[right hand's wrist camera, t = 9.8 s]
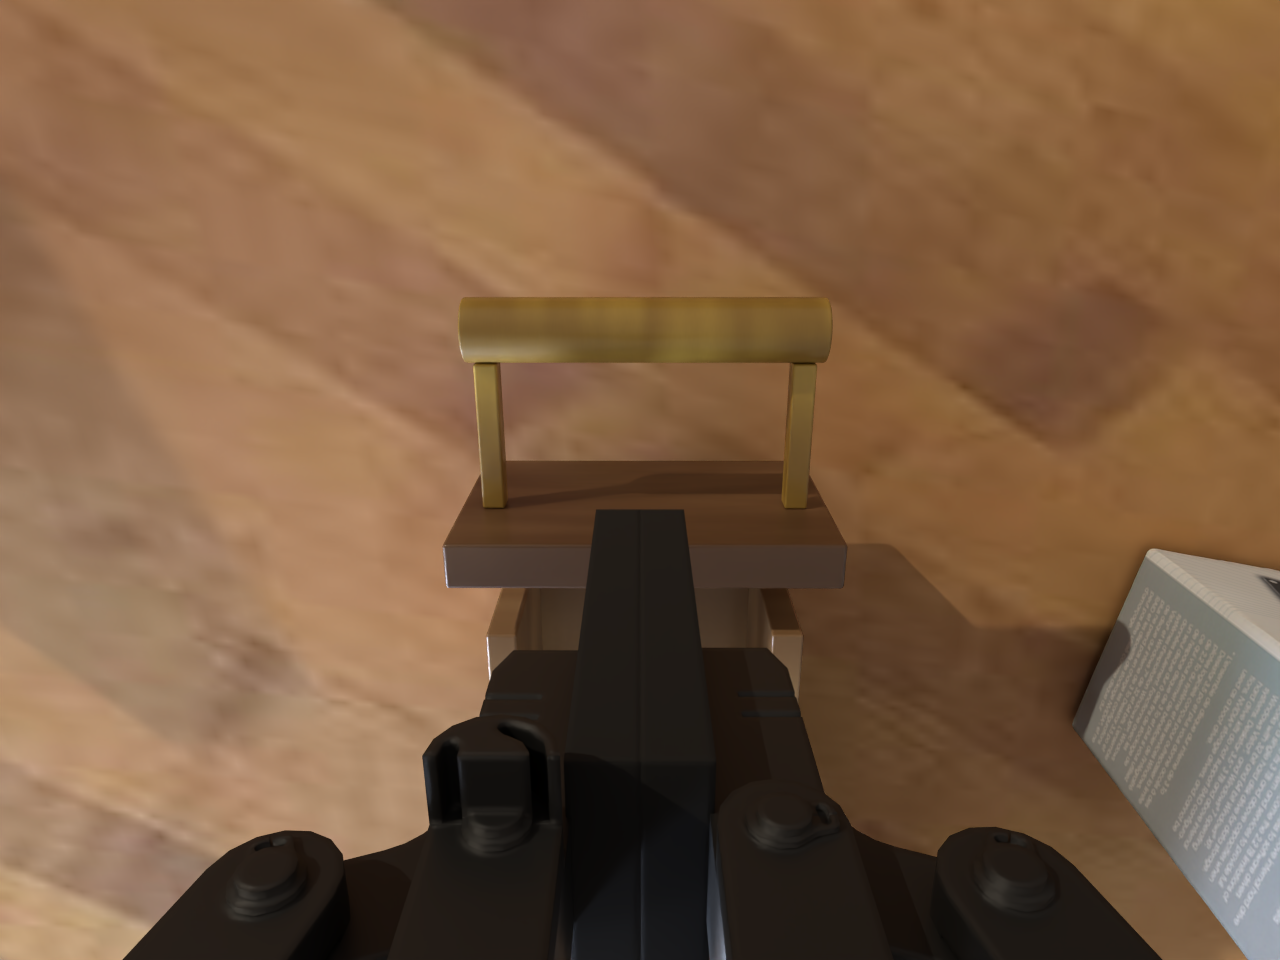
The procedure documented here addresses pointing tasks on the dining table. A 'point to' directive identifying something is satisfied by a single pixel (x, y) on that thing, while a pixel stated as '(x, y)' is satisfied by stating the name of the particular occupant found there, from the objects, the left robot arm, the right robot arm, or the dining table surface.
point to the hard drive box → (1199, 730)
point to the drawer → (646, 473)
